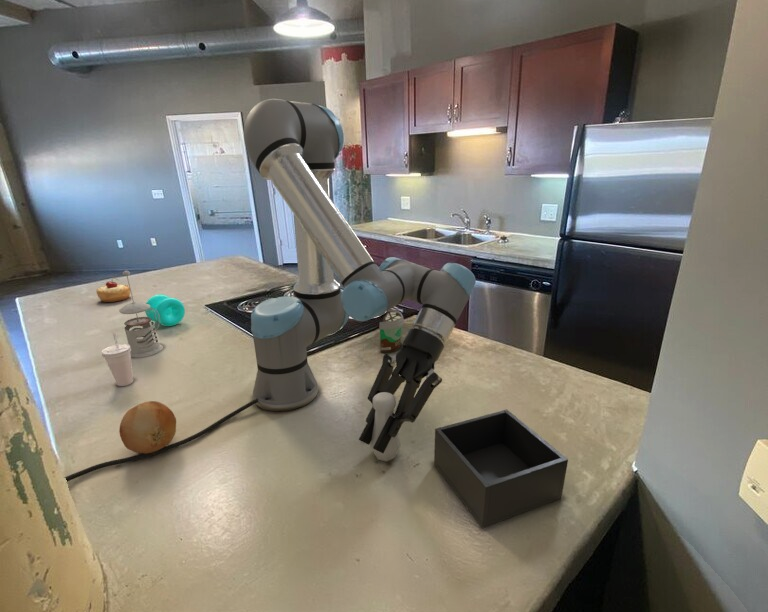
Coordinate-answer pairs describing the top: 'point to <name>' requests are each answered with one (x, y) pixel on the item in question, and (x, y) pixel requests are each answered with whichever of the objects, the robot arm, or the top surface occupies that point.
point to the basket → (498, 466)
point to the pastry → (113, 292)
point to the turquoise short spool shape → (165, 310)
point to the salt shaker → (384, 409)
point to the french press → (140, 329)
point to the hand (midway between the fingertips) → (370, 446)
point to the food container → (391, 331)
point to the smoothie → (119, 362)
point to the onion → (147, 427)
